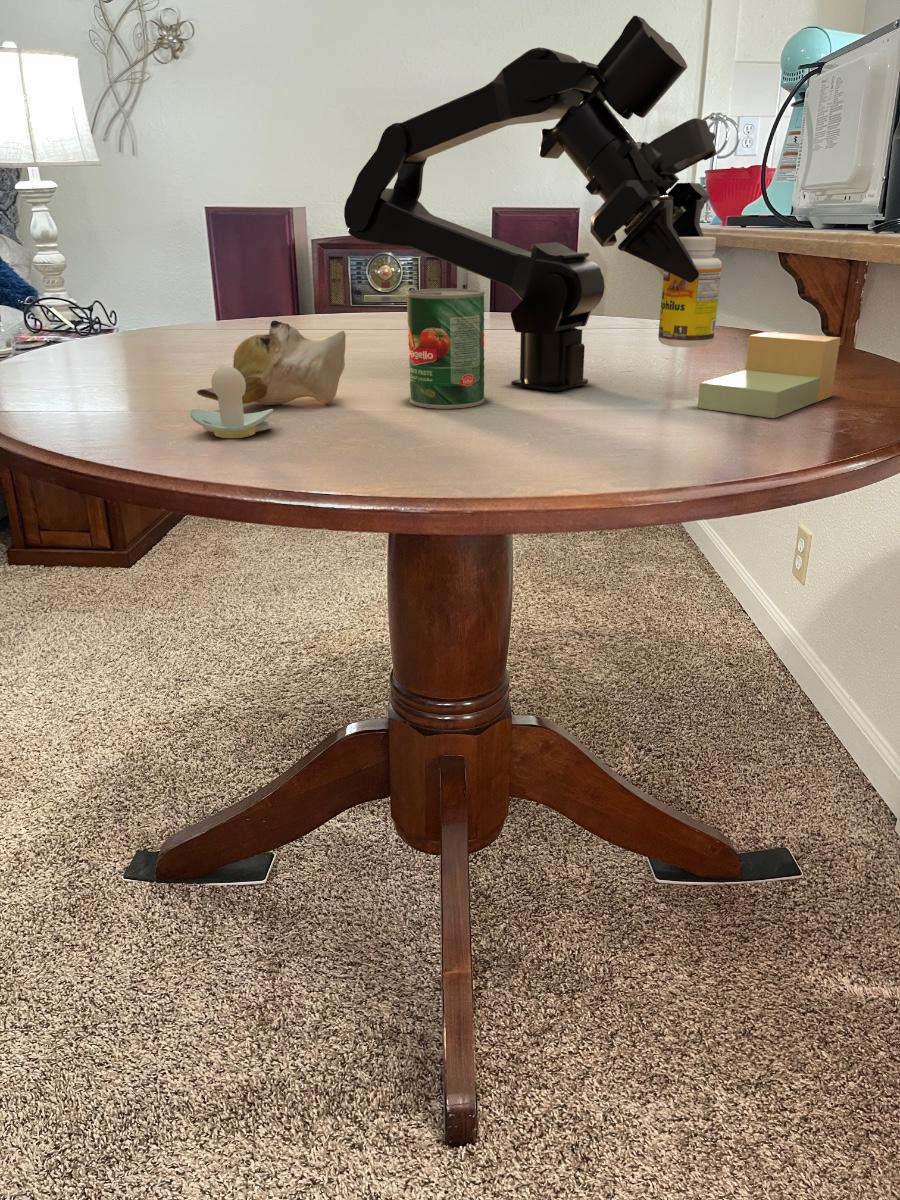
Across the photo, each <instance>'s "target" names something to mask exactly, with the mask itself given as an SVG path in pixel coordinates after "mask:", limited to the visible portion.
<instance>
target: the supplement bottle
mask: <svg viewBox="0 0 900 1200" xmlns="http://www.w3.org/2000/svg"><path fill="white" fill-rule="evenodd" d="M679 238H680V240H681V242H682V243H683V245H684V247H685V248H686V250H687V252H688V254H689V255H690V257H691V259H692V261H693V262H694V264H695V266H696V268H697V270H698V272H699V277H698V278H697V279H696V280H695V281H694V282H691V283H690V282H688V281H686V280H684V279H682V278H679V277H677V276H675V275H673V274H671V273H669V272H667V271H665V270H663V276H662V277H663V278H662V288H661V301H660V313H659V323H658V341H659V343H661V345H664V346H668V347H674V348H701V347H707V346H709V345H711V344H712V343H713V341H714V338H715V331H716V321H717V313H718V304H719V297H720V296H719V294H720V286H721V276H722V267H723V263H722V260H721V259H720V258H717V257H714V255H715V254H716V244H717V238H716V237H715V236H704V237H679ZM712 257H713V258H712Z"/></svg>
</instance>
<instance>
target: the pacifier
mask: <svg viewBox="0 0 900 1200" xmlns="http://www.w3.org/2000/svg"><path fill="white" fill-rule="evenodd" d="M210 384H211V388H212V389H213V391H214V393H215V394H216V395H217V396H218V401H217V402H218V411H214V410H207V409H190V410H189V416H190V418H191V420H192V421H194V422H195V423H196V424H197V425H199V426H201V427H202V428H203V429H204V430H205V431H207V432H210V433H211V432H212V433H213V435H214V436H215V437H217V438H221V439H241V438H247V437H251V436H253V435H255V434H256V432H262V431H266V430H269V429H271V428H273V426H274V423H273V422H271V420H267V419H269V418H270V416H271V415H272V414H273V412H274V409H273V408H270V409H266V410H262V411H256V412H250V413H244V404H243V403H242V396H243V395H244V393H245V390H246V383H245V379H244V377H243V376H242V374H241V373H240V372H239V371H238V370H237V369H235V368H234V367H233V366H230V365H221V366H219V367H217V368H216V369H214V371H213V373H212V375H211V379H210Z"/></svg>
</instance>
